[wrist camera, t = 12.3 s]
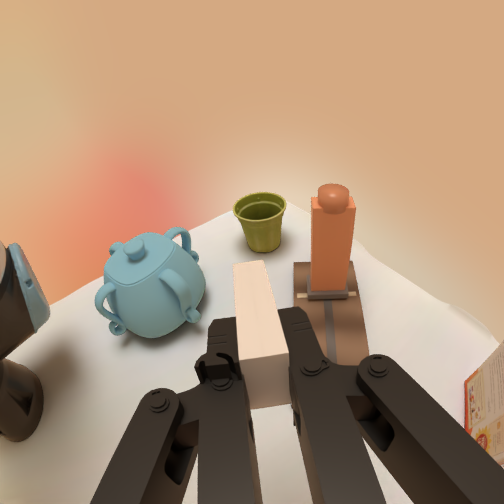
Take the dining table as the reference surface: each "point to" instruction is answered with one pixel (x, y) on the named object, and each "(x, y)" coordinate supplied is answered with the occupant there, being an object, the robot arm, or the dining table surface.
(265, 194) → the plant pot
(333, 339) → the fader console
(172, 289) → the decorative pot
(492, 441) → the cracker box
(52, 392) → the dining table surface
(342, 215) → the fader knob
